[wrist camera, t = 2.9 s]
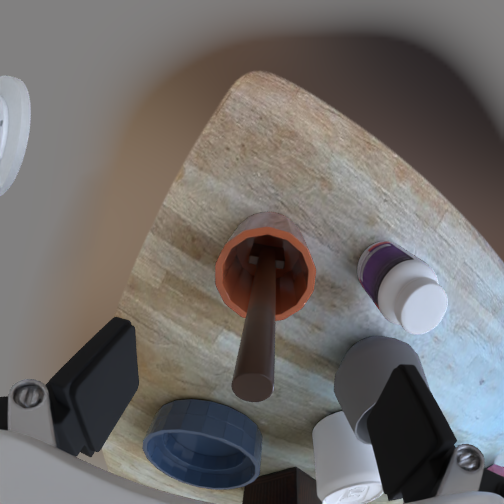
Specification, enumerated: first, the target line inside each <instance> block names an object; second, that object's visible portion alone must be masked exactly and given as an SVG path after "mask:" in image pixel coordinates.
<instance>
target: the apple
mask: <svg viewBox="0 0 504 504" xmlns="http://www.w3.org/2000/svg"><path fill="white" fill-rule="evenodd" d="M487 470H490V471H492V472H494V473H496V474H499V475H501V476H503V477H504V467H501V466H498V465H495V464H494V465H492V466H490V467H489V468H487Z"/></svg>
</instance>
